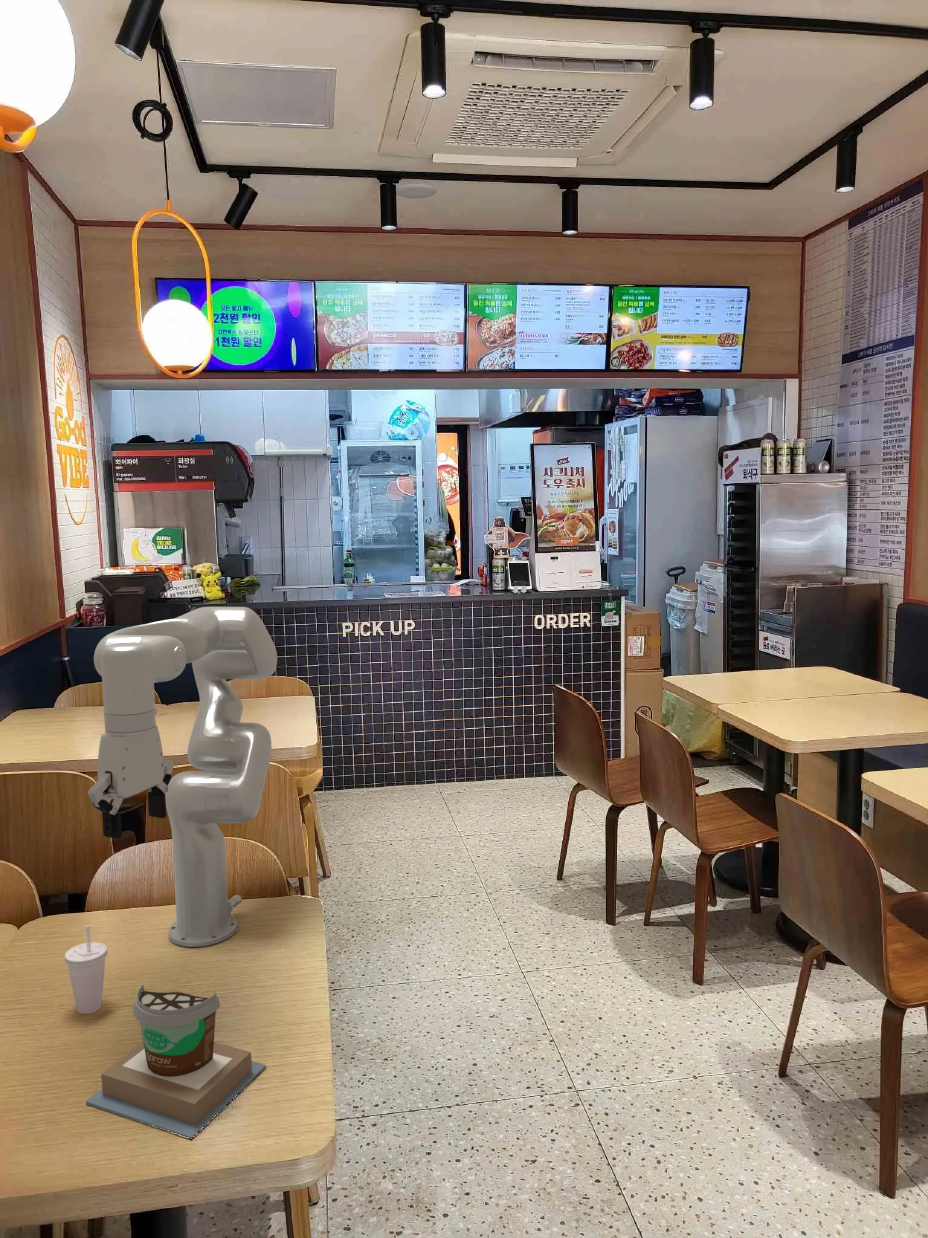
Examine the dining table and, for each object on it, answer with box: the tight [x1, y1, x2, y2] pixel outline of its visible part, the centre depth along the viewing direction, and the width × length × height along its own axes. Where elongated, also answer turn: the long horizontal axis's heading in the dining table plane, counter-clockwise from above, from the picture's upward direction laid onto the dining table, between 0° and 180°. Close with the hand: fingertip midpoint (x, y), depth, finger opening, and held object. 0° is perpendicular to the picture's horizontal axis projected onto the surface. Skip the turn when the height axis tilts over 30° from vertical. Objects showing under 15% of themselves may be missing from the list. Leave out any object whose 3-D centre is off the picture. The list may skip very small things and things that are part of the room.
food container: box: [133, 984, 221, 1077], centre depth 121 cm, size 12×6×10 cm, turn 79°
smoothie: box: [64, 925, 108, 1015], centre depth 142 cm, size 6×6×14 cm
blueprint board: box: [85, 1041, 267, 1140], centre depth 123 cm, size 16×18×4 cm
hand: (135, 826), depth 140 cm, fingers open, 9 cm apart
